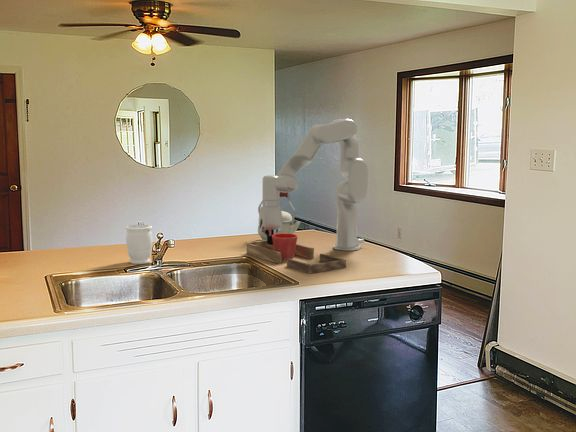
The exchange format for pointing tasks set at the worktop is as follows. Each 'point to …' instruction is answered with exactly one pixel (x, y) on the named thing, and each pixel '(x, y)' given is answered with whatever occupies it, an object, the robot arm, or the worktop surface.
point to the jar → (139, 243)
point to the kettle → (283, 220)
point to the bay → (328, 265)
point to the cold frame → (268, 253)
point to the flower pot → (285, 244)
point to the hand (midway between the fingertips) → (270, 244)
